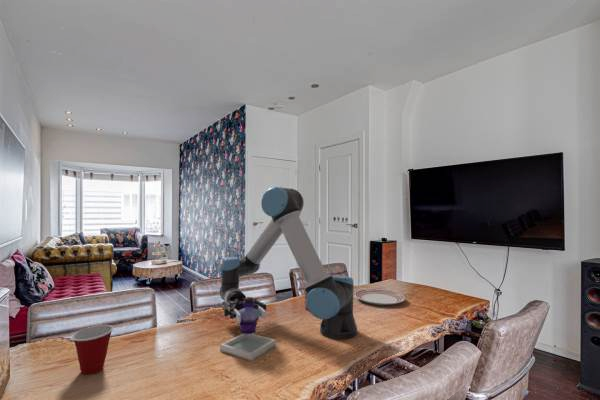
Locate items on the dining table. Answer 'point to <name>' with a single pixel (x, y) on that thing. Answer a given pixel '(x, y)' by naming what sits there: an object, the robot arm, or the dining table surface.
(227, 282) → the robot arm
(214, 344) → the dining table surface
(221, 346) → the dish
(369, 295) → the dinner plate
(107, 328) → the plastic cup
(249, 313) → the potion bottle
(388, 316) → the dining table surface
